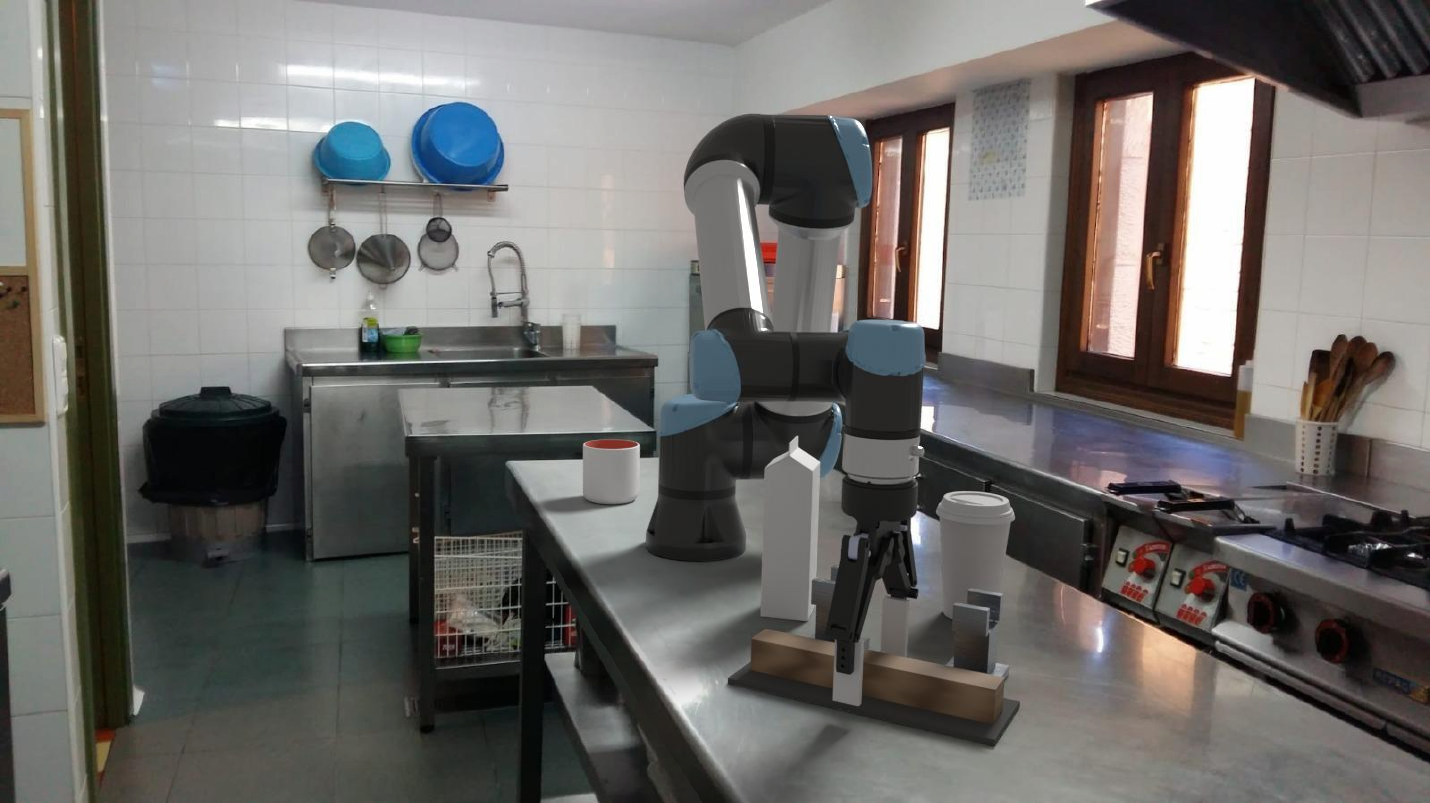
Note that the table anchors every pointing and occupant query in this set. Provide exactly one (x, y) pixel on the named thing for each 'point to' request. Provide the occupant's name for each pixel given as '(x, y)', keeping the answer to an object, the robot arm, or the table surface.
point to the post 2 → (978, 633)
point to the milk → (790, 534)
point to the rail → (883, 676)
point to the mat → (880, 707)
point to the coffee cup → (972, 543)
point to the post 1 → (825, 605)
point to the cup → (611, 471)
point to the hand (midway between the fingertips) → (871, 678)
